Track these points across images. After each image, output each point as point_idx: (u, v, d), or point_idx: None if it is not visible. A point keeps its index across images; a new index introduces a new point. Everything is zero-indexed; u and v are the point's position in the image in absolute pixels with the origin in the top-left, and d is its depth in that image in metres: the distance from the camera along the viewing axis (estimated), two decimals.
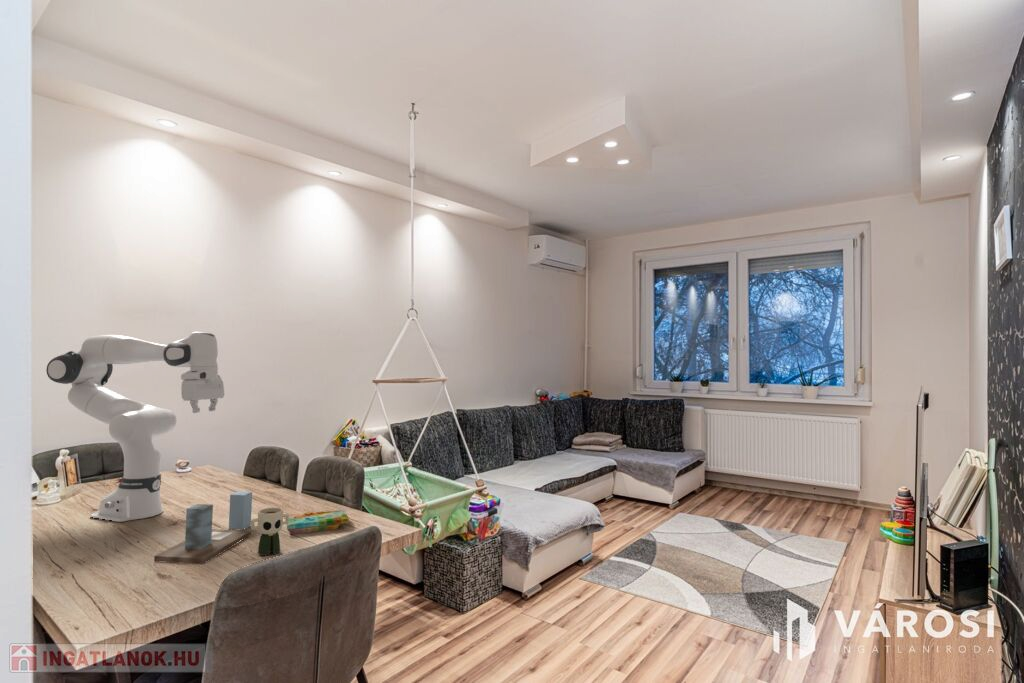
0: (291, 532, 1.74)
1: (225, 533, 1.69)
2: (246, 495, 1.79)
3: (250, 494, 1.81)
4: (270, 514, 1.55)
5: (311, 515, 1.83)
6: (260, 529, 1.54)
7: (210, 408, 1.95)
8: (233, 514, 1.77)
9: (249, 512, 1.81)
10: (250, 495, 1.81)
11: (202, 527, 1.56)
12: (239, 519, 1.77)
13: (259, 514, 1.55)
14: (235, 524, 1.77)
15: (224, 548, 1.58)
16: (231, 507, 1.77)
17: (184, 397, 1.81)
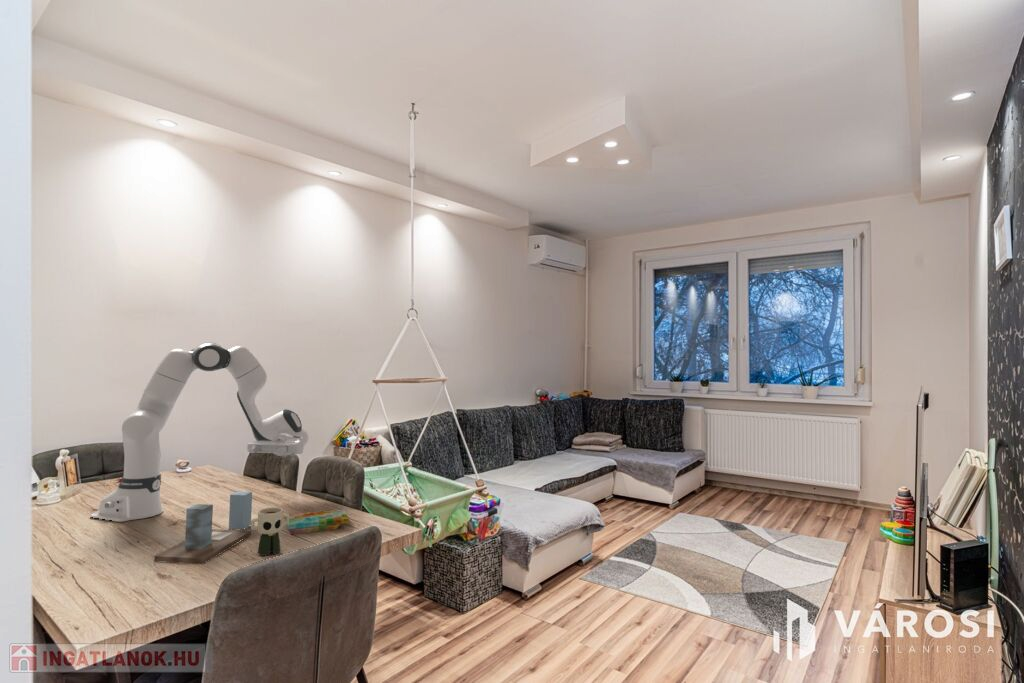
0: (291, 532, 1.74)
1: (225, 533, 1.69)
2: (246, 495, 1.79)
3: (250, 494, 1.81)
4: (270, 514, 1.55)
5: (311, 515, 1.83)
6: (260, 529, 1.54)
7: (255, 449, 1.96)
8: (233, 514, 1.77)
9: (249, 512, 1.81)
10: (250, 495, 1.81)
11: (202, 527, 1.56)
12: (239, 519, 1.77)
13: (259, 514, 1.55)
14: (235, 524, 1.77)
15: (224, 548, 1.58)
16: (231, 507, 1.77)
17: (297, 446, 2.00)
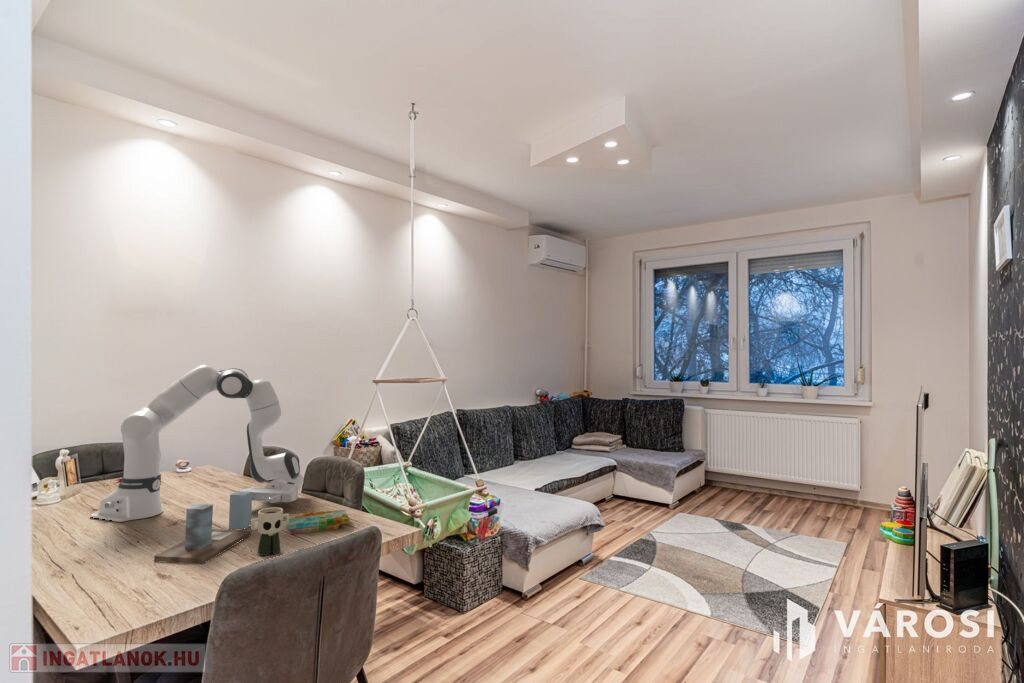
0: (291, 532, 1.74)
1: (225, 533, 1.69)
2: (246, 495, 1.79)
3: (250, 494, 1.81)
4: (270, 514, 1.55)
5: (311, 515, 1.83)
6: (260, 529, 1.54)
7: None
8: (233, 514, 1.77)
9: (249, 512, 1.81)
10: (250, 495, 1.81)
11: (202, 527, 1.56)
12: (239, 519, 1.77)
13: (259, 514, 1.55)
14: (235, 524, 1.77)
15: (224, 548, 1.58)
16: (231, 507, 1.77)
17: (291, 495, 1.96)
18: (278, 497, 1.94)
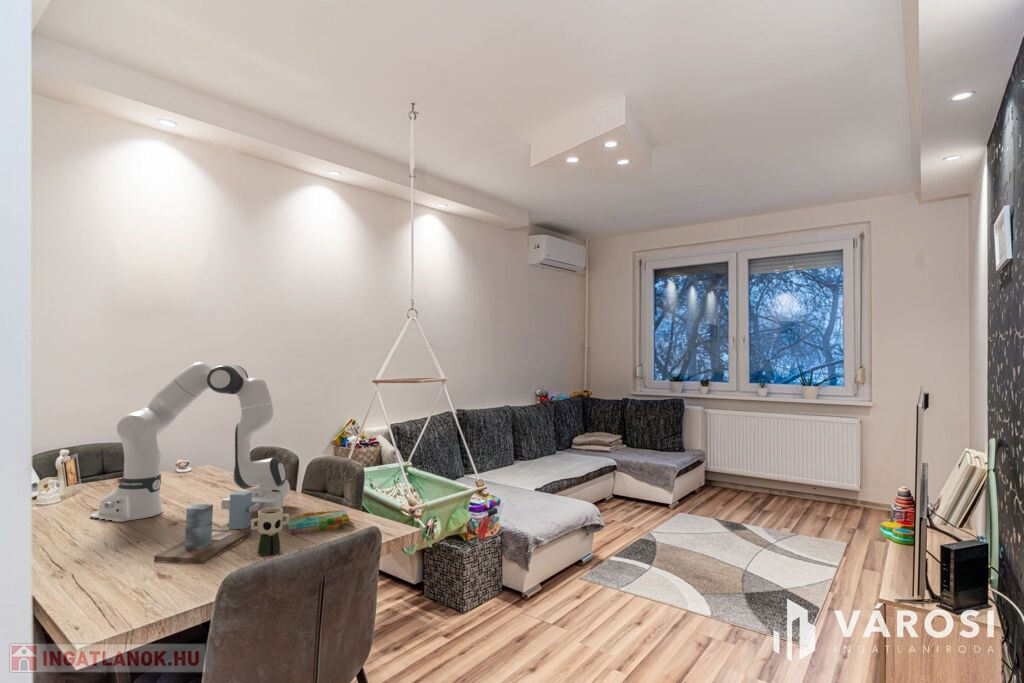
0: (292, 532, 1.74)
1: (225, 533, 1.69)
2: (246, 495, 1.79)
3: (250, 494, 1.81)
4: (270, 514, 1.55)
5: (312, 515, 1.83)
6: (260, 529, 1.54)
7: None
8: (233, 514, 1.77)
9: (249, 512, 1.81)
10: (250, 495, 1.81)
11: (202, 527, 1.56)
12: (239, 519, 1.77)
13: (259, 514, 1.55)
14: (235, 524, 1.77)
15: (224, 548, 1.58)
16: (231, 507, 1.77)
17: (275, 503, 1.84)
18: (257, 506, 1.82)
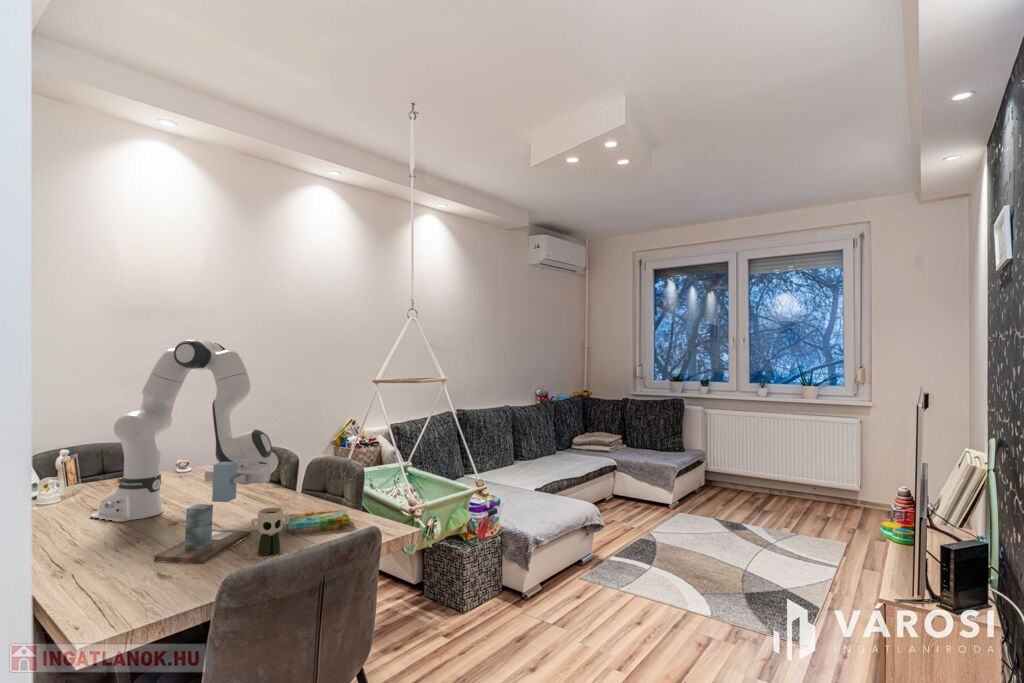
0: (292, 532, 1.74)
1: (225, 533, 1.69)
2: (231, 465, 1.69)
3: (235, 465, 1.72)
4: (270, 514, 1.55)
5: (312, 515, 1.83)
6: (260, 529, 1.54)
7: None
8: (217, 485, 1.68)
9: (234, 484, 1.71)
10: (235, 465, 1.72)
11: (202, 527, 1.56)
12: (223, 490, 1.67)
13: (259, 514, 1.55)
14: (219, 496, 1.67)
15: (224, 548, 1.58)
16: (215, 478, 1.68)
17: (262, 475, 1.75)
18: (242, 477, 1.72)
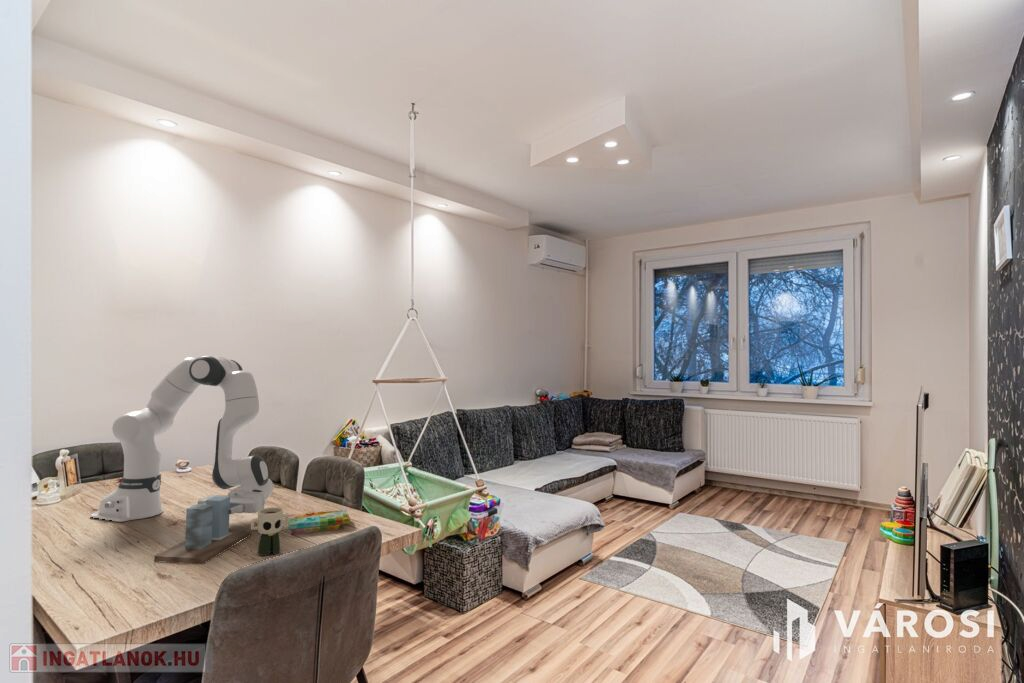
0: (292, 532, 1.74)
1: None
2: (223, 501, 1.66)
3: (228, 499, 1.68)
4: (270, 514, 1.55)
5: (312, 515, 1.83)
6: (260, 529, 1.54)
7: None
8: None
9: (227, 519, 1.68)
10: (228, 500, 1.68)
11: (202, 527, 1.56)
12: (215, 527, 1.64)
13: (259, 514, 1.55)
14: None
15: (224, 548, 1.58)
16: None
17: (256, 504, 1.71)
18: (240, 507, 1.69)
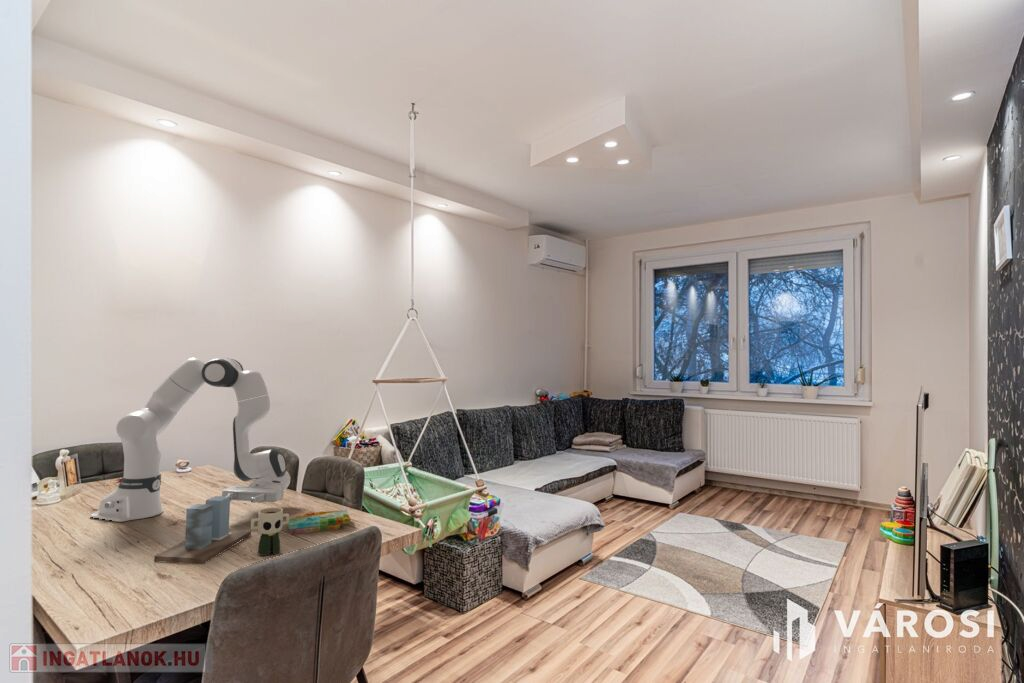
0: (293, 532, 1.74)
1: None
2: (223, 501, 1.66)
3: (228, 499, 1.68)
4: (270, 514, 1.55)
5: (313, 515, 1.83)
6: (260, 529, 1.54)
7: (230, 498, 1.80)
8: None
9: (227, 519, 1.68)
10: (228, 500, 1.68)
11: (202, 527, 1.56)
12: (215, 527, 1.64)
13: (259, 514, 1.55)
14: None
15: (224, 548, 1.58)
16: None
17: (276, 494, 1.84)
18: (261, 496, 1.82)
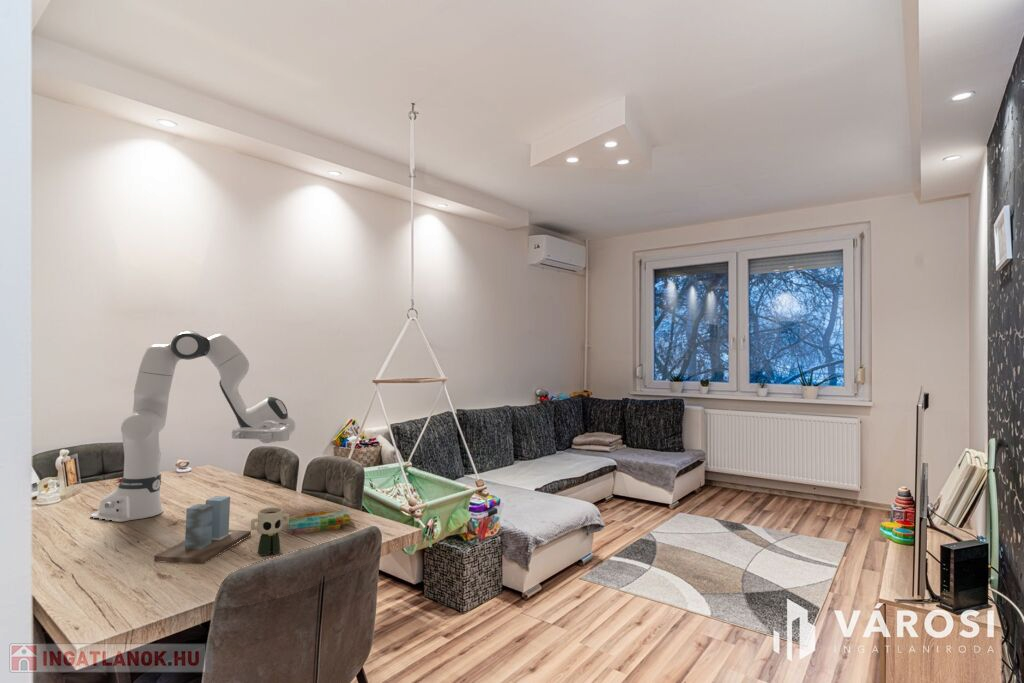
0: (293, 532, 1.74)
1: None
2: (223, 501, 1.66)
3: (228, 499, 1.68)
4: (270, 514, 1.55)
5: (313, 515, 1.83)
6: (260, 529, 1.54)
7: (240, 435, 1.92)
8: None
9: (227, 519, 1.68)
10: (228, 500, 1.68)
11: (202, 527, 1.56)
12: (215, 527, 1.64)
13: (259, 514, 1.55)
14: None
15: (224, 548, 1.58)
16: None
17: (283, 433, 1.96)
18: (269, 434, 1.94)
